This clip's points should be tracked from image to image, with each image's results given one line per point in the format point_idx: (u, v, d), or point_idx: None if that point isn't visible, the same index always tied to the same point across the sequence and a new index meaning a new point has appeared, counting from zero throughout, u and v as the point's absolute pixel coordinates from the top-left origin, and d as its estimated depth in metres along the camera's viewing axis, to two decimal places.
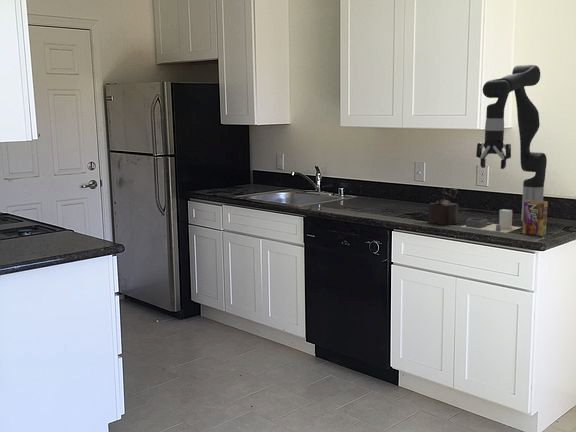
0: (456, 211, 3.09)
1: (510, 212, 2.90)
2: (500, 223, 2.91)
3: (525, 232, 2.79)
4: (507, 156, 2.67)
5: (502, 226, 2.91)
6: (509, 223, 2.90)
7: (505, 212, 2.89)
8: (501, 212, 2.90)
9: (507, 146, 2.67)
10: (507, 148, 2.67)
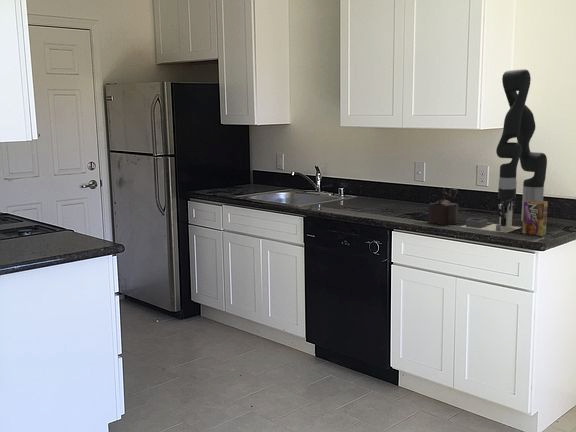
0: (456, 211, 3.09)
1: (510, 212, 2.90)
2: (500, 223, 2.91)
3: (525, 232, 2.79)
4: (513, 212, 2.94)
5: (502, 226, 2.91)
6: (509, 223, 2.90)
7: None
8: None
9: (514, 204, 2.94)
10: (514, 205, 2.94)
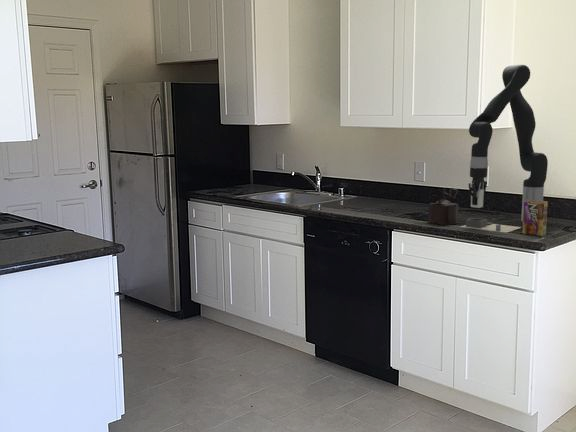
0: (456, 211, 3.09)
1: (481, 191, 2.93)
2: (471, 202, 2.95)
3: (525, 232, 2.79)
4: (484, 192, 2.97)
5: (473, 205, 2.94)
6: (481, 202, 2.94)
7: None
8: None
9: (486, 183, 2.98)
10: (486, 185, 2.98)
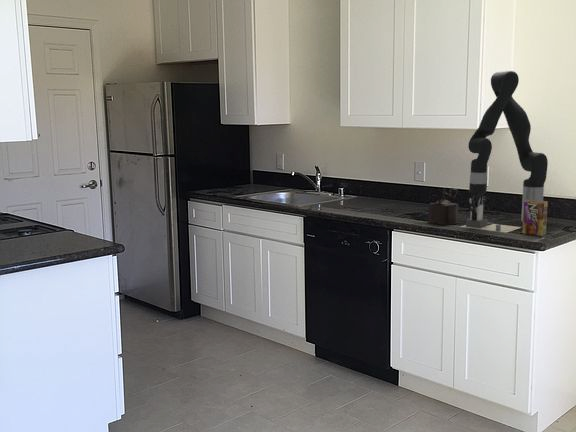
0: (456, 211, 3.09)
1: (481, 207, 2.94)
2: (471, 217, 2.96)
3: (525, 232, 2.79)
4: (484, 207, 2.98)
5: None
6: (480, 217, 2.95)
7: None
8: None
9: (485, 198, 2.99)
10: (485, 200, 2.99)
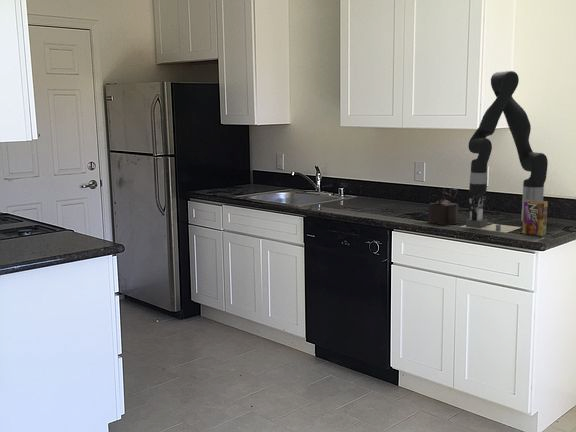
0: (456, 211, 3.09)
1: (480, 210, 2.95)
2: None
3: (525, 232, 2.79)
4: (484, 207, 2.99)
5: None
6: None
7: None
8: None
9: None
10: (485, 200, 2.99)
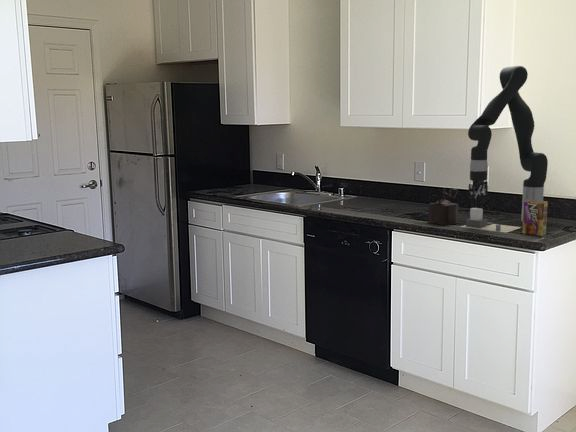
0: (456, 211, 3.09)
1: (480, 210, 2.95)
2: None
3: (525, 232, 2.79)
4: (487, 192, 2.99)
5: None
6: None
7: (475, 210, 2.94)
8: (472, 210, 2.96)
9: (487, 183, 2.98)
10: (487, 185, 2.98)
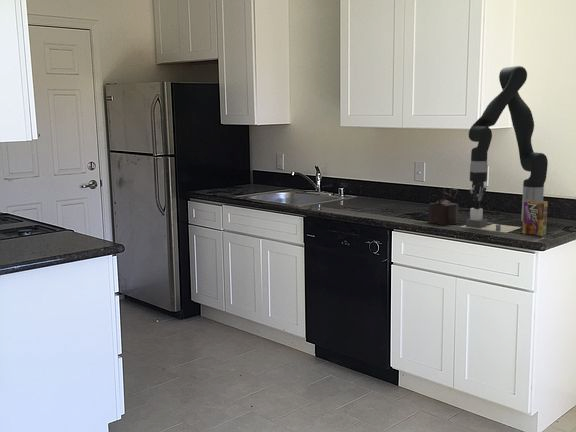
0: (456, 211, 3.09)
1: (480, 210, 2.95)
2: None
3: (525, 232, 2.79)
4: (482, 196, 2.96)
5: None
6: None
7: (475, 210, 2.94)
8: (472, 210, 2.96)
9: (485, 189, 2.98)
10: None
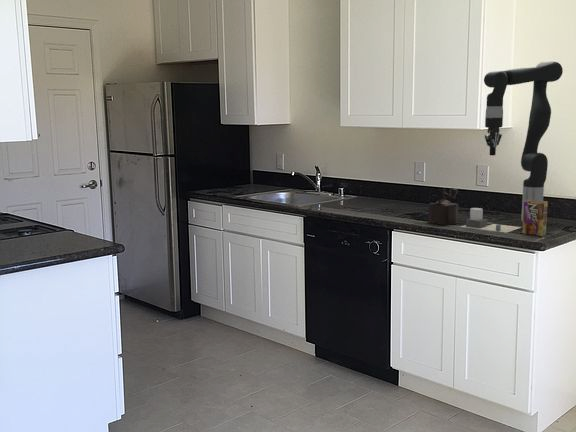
0: (456, 211, 3.09)
1: (480, 210, 2.95)
2: None
3: (525, 232, 2.79)
4: (498, 143, 2.95)
5: None
6: None
7: (475, 210, 2.94)
8: (472, 210, 2.96)
9: (501, 136, 2.97)
10: (500, 137, 2.97)
